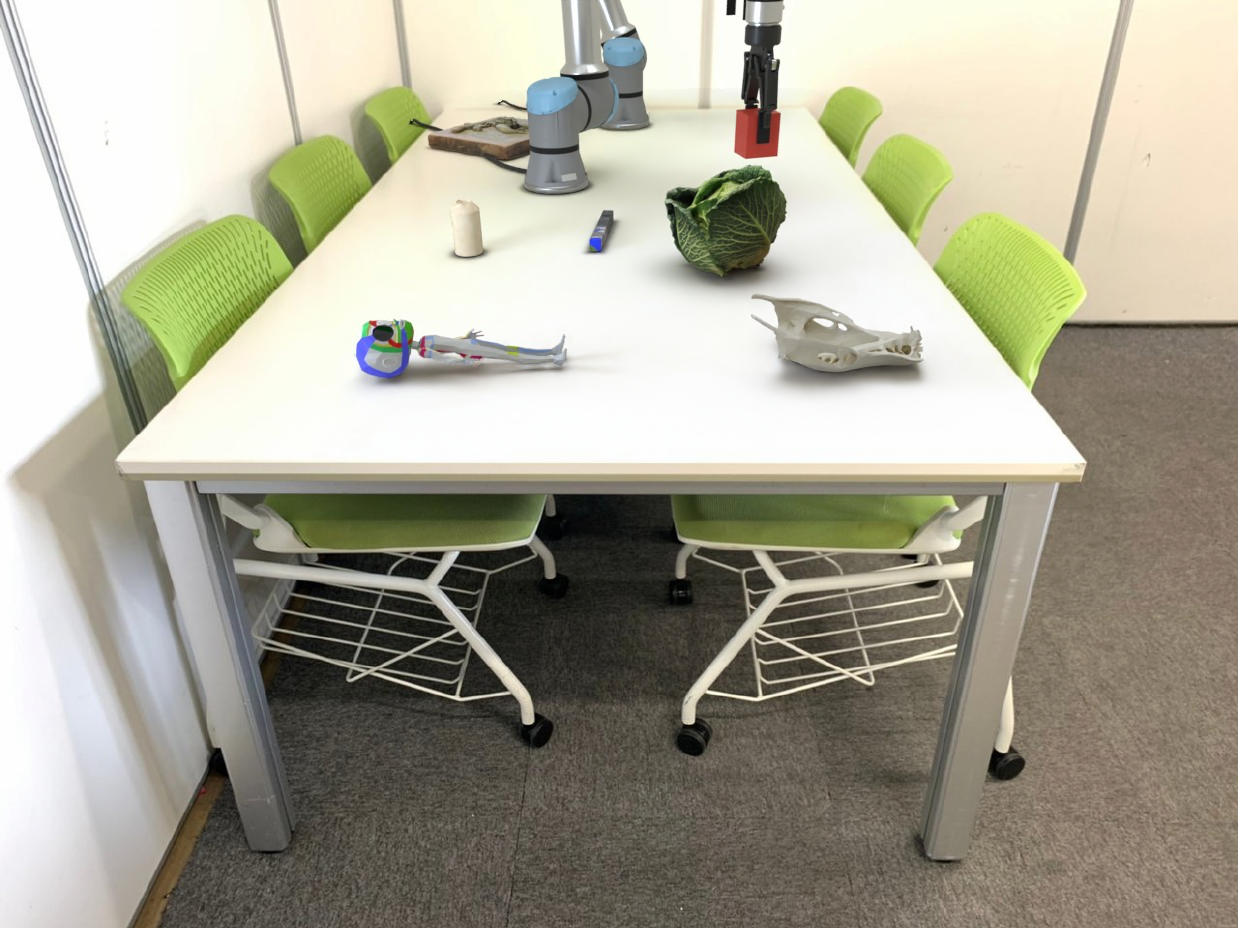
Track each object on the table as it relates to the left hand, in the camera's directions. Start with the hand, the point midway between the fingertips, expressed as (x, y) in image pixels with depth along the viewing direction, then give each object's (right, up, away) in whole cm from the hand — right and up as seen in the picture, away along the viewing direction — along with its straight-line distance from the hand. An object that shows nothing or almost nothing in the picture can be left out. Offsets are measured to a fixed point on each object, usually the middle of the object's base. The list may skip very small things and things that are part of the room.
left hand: (756, 139), depth 197 cm
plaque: (-63, +19, +56) cm, 86 cm away
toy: (-53, -57, -65) cm, 102 cm away
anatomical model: (+1, -57, -65) cm, 87 cm away
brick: (0, -3, +2) cm, 3 cm away
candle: (-59, -30, -22) cm, 70 cm away
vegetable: (-11, -35, -31) cm, 49 cm away
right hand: (+5, +61, +68) cm, 91 cm away
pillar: (-34, -25, -14) cm, 44 cm away
